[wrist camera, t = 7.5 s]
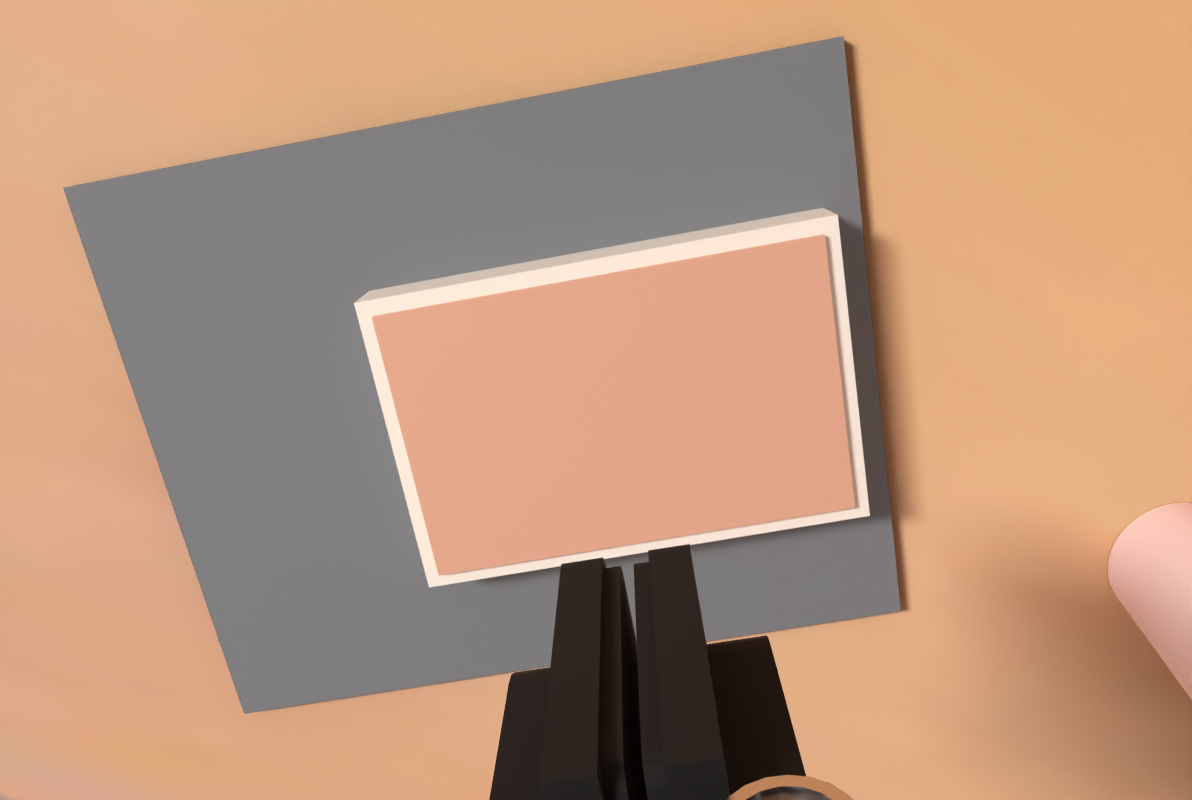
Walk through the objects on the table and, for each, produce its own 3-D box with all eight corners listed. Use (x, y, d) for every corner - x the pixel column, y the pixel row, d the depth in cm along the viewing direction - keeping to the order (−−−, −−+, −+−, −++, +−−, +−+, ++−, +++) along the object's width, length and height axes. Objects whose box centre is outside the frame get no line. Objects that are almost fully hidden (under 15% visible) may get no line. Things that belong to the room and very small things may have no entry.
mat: (839, 37, 23) (843, 36, 23) (896, 604, 28) (900, 611, 28) (71, 186, 25) (63, 188, 24) (249, 705, 29) (244, 713, 29)
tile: (369, 290, 25) (823, 207, 24) (438, 560, 27) (854, 492, 27) (351, 304, 23) (839, 215, 23) (427, 591, 26) (872, 519, 25)
